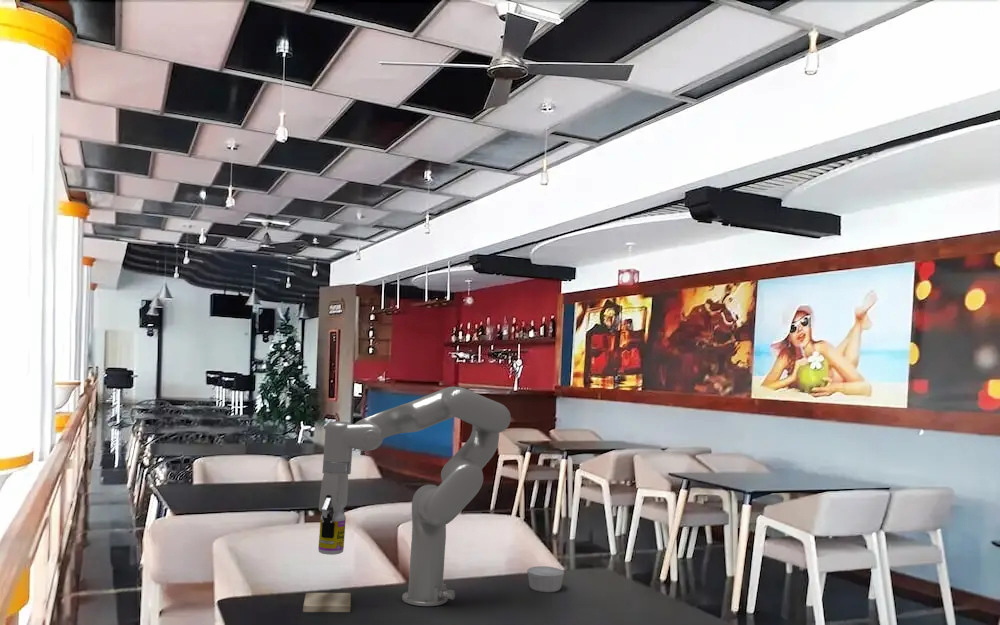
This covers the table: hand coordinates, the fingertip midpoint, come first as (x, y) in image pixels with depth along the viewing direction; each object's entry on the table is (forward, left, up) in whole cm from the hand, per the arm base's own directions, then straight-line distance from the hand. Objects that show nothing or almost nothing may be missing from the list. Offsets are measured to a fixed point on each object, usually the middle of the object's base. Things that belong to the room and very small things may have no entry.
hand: (332, 534), depth 214 cm
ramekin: (-45, -49, -19) cm, 69 cm away
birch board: (0, 0, -19) cm, 19 cm away
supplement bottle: (0, 0, -5) cm, 5 cm away
